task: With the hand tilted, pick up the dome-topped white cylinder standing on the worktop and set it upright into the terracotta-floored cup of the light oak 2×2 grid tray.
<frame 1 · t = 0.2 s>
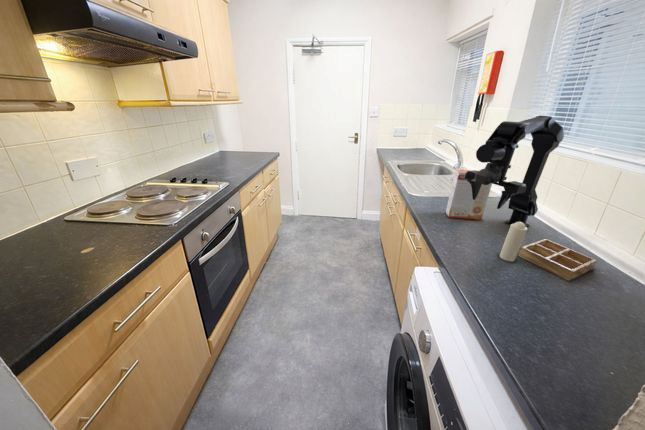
hand: (485, 203, 96), 14 cm above the worktop, tool pointing down, fingers open, 9 cm apart
grid: (554, 261, 88), on the worktop
cracker box: (462, 216, 120), on the worktop
dome-topped white cylinder: (507, 257, 90), on the worktop
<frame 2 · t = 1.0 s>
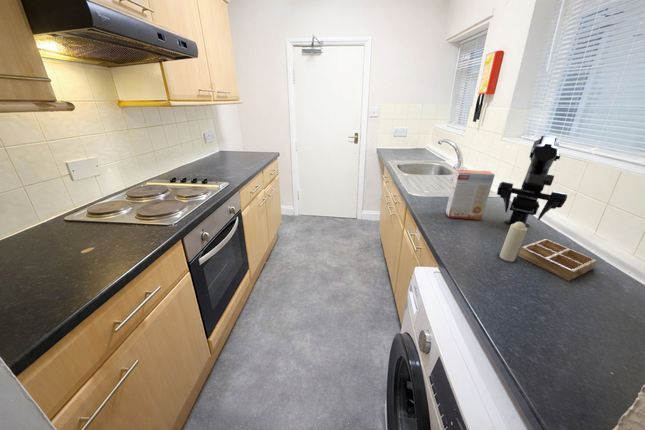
hand: (522, 215, 90), 13 cm above the worktop, tool tilted 45°, fingers open, 9 cm apart
nothing on the worktop moved.
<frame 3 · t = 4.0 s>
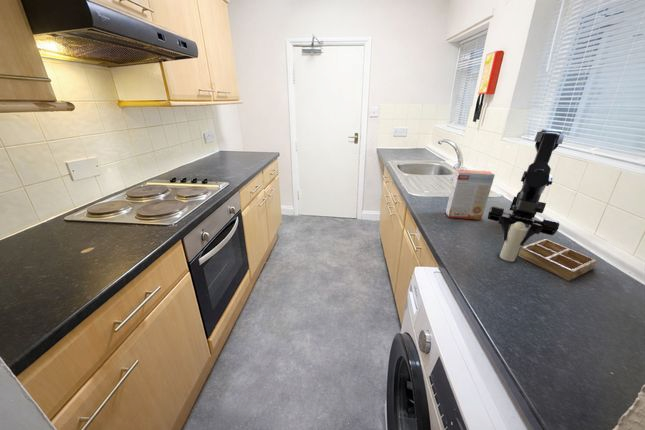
hand: (513, 242, 86), 7 cm above the worktop, tool tilted 45°, fingers closed on dome-topped white cylinder, 4 cm apart
dome-topped white cylinder: (507, 257, 90), on the worktop, touching gripper
everything else where it was.
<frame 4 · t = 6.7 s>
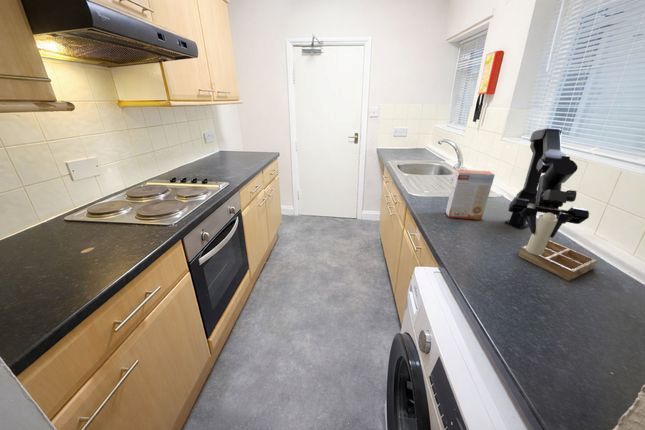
hand: (542, 235, 81), 12 cm above the worktop, tool tilted 45°, fingers closed on dome-topped white cylinder, 4 cm apart
dome-topped white cylinder: (533, 251, 85), point 5 cm above the worktop, touching gripper
everything else where it was.
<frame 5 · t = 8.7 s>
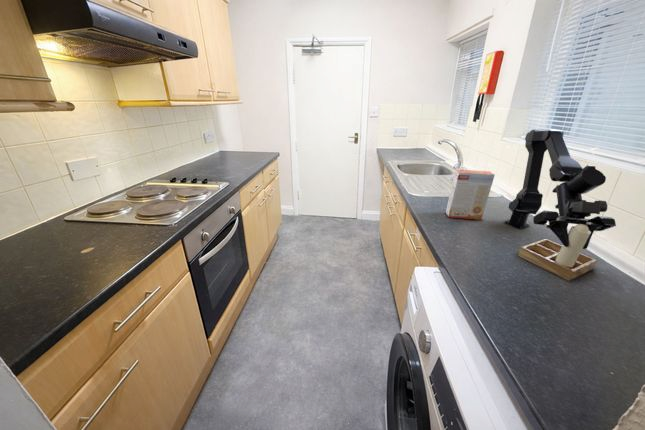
hand: (575, 247, 79), 9 cm above the worktop, tool tilted 45°, fingers closed on dome-topped white cylinder, 4 cm apart
dome-topped white cylinder: (564, 263, 83), point 3 cm above the worktop, touching gripper
everything else where it was.
when the fingers open (7 cm above the worktop, at t = 9.8 s): dome-topped white cylinder stays where it is, resting on grid.
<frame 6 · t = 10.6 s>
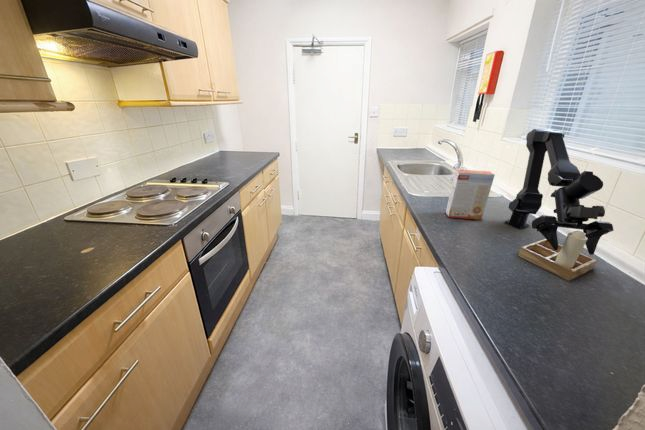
hand: (573, 252, 80), 8 cm above the worktop, tool tilted 45°, fingers open, 9 cm apart
dome-topped white cylinder: (561, 268, 84), point 1 cm above the worktop, touching grid
everything else where it was.
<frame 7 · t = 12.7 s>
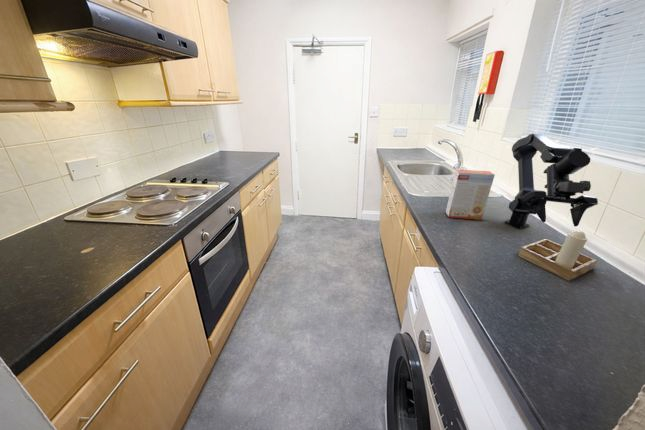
hand: (559, 224, 86), 12 cm above the worktop, tool tilted 40°, fingers open, 9 cm apart
nothing on the worktop moved.
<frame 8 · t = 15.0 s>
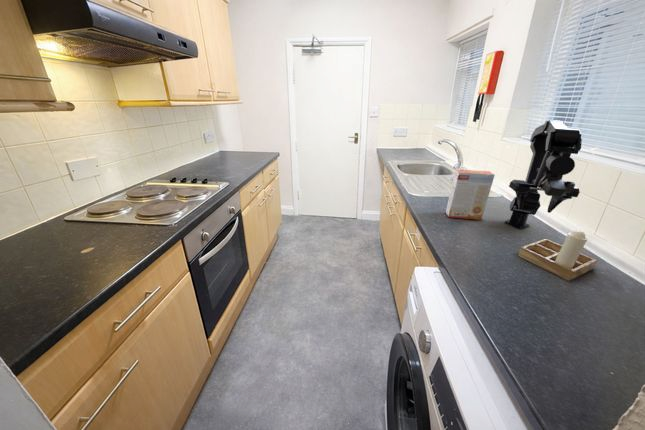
hand: (533, 210, 94), 13 cm above the worktop, tool pointing down, fingers open, 9 cm apart
nothing on the worktop moved.
at the end: dome-topped white cylinder 0.0 cm from the target spot in the grid, point 0.6 cm above the grid's base; dome-topped white cylinder tilted 0°; the gripper is holding nothing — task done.
